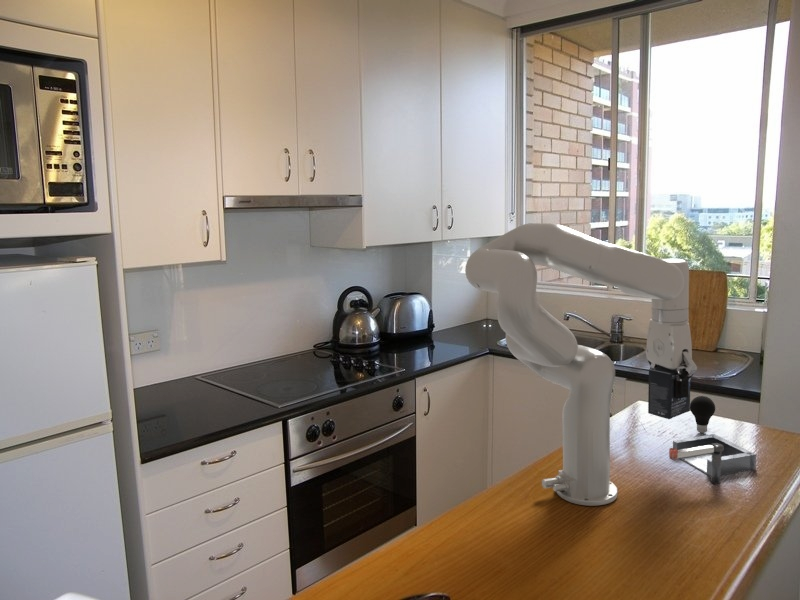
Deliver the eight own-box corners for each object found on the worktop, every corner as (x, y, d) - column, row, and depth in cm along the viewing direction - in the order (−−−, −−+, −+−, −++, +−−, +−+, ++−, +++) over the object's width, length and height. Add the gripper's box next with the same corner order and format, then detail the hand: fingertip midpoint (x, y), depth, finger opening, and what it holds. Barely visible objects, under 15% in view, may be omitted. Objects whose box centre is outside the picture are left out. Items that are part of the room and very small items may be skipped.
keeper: (715, 484, 133) (716, 453, 132) (665, 455, 148) (666, 427, 147) (767, 475, 136) (769, 445, 135) (713, 447, 151) (714, 420, 150)
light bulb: (718, 437, 157) (720, 399, 156) (695, 438, 158) (696, 400, 156) (707, 429, 163) (708, 392, 162) (685, 430, 163) (686, 393, 162)
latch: (674, 460, 129) (674, 452, 129) (666, 455, 131) (666, 447, 131) (726, 451, 132) (726, 443, 131) (717, 447, 134) (717, 439, 134)
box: (670, 420, 136) (670, 373, 134) (647, 413, 141) (647, 368, 139) (691, 411, 140) (691, 366, 138) (668, 405, 145) (668, 361, 143)
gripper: (631, 310, 144) (631, 384, 147) (681, 324, 127) (681, 406, 130) (659, 307, 146) (659, 380, 149) (712, 320, 129) (711, 401, 132)
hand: (669, 391), depth 140 cm, fingers closed on box, 7 cm apart
